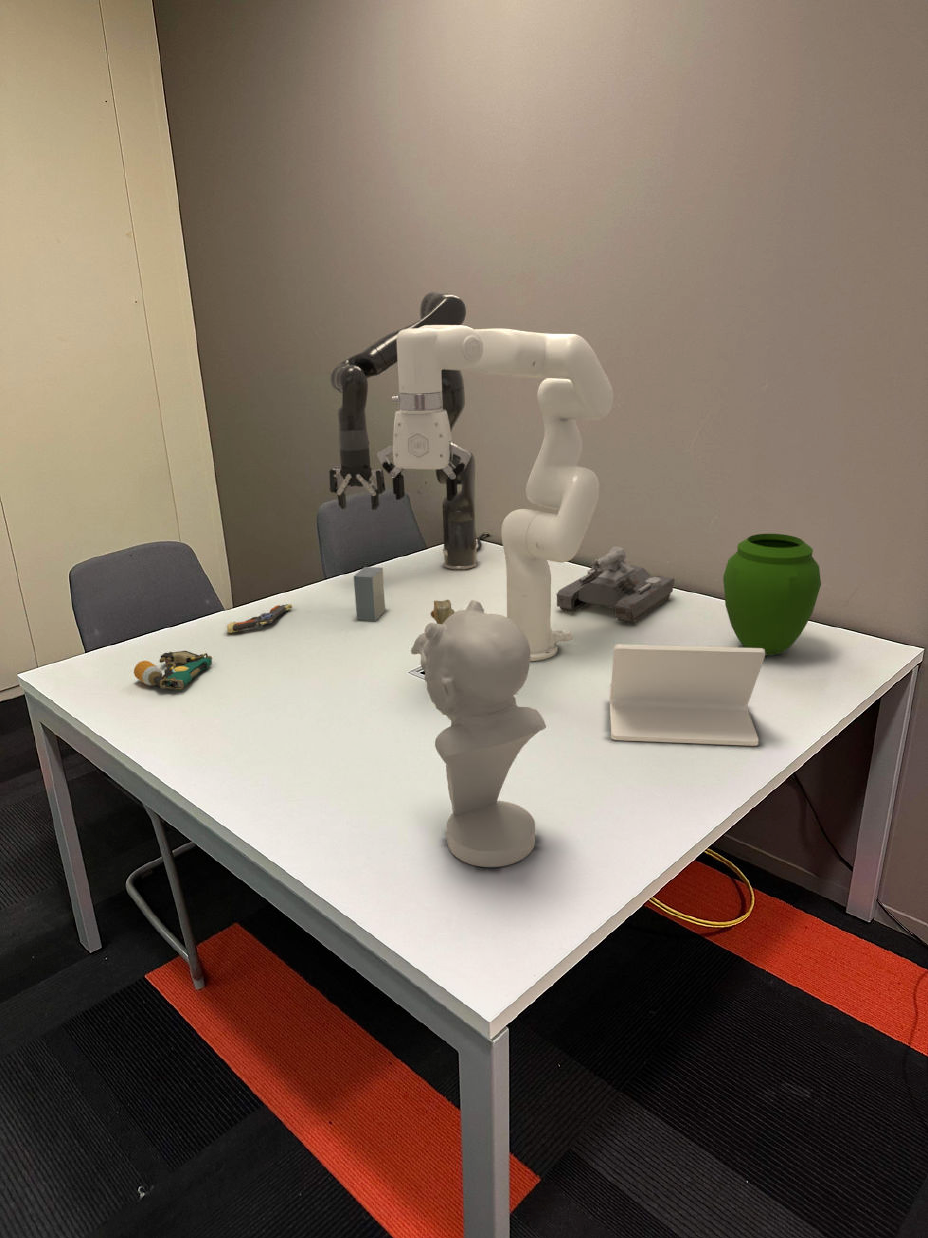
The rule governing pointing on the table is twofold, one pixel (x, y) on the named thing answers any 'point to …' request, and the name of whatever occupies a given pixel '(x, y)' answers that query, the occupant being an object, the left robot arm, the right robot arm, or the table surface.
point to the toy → (616, 588)
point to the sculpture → (441, 611)
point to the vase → (771, 590)
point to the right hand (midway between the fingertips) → (425, 498)
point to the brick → (369, 593)
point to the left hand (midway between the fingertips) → (359, 508)
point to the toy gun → (258, 619)
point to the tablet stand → (683, 694)
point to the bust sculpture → (481, 729)
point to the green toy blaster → (172, 669)
